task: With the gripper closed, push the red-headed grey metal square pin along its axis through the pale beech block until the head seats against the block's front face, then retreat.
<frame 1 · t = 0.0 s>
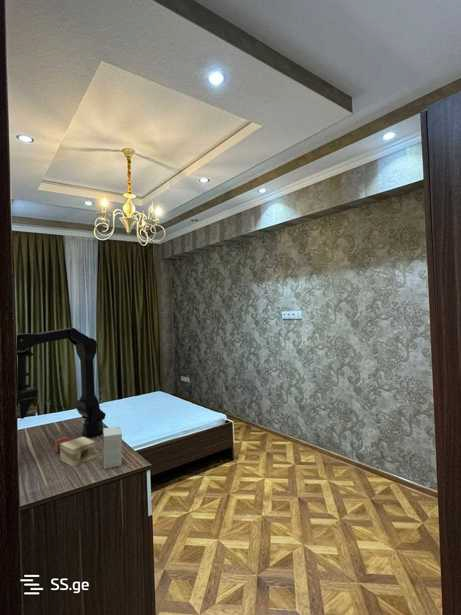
hand: (16, 416, 109), 15 cm above the table, tool pointing down, fingers open, 9 cm apart
pin: (70, 447, 112), point 2 cm above the table, slide at 0.0 cm
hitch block: (78, 458, 109), on the table
small box: (112, 463, 106), on the table
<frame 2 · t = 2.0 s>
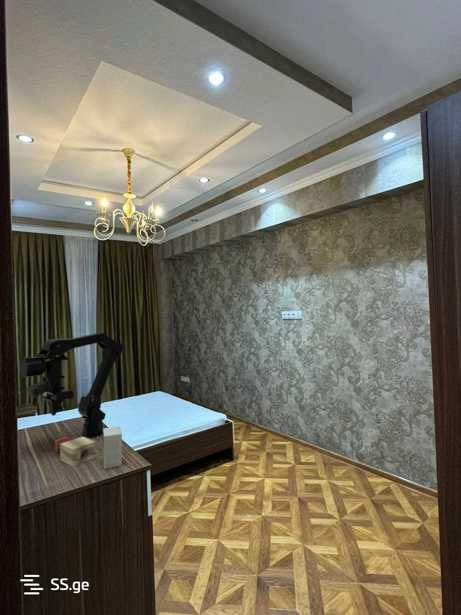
hand: (53, 415, 120), 12 cm above the table, tool pointing down, fingers closed
nothing on the table moved.
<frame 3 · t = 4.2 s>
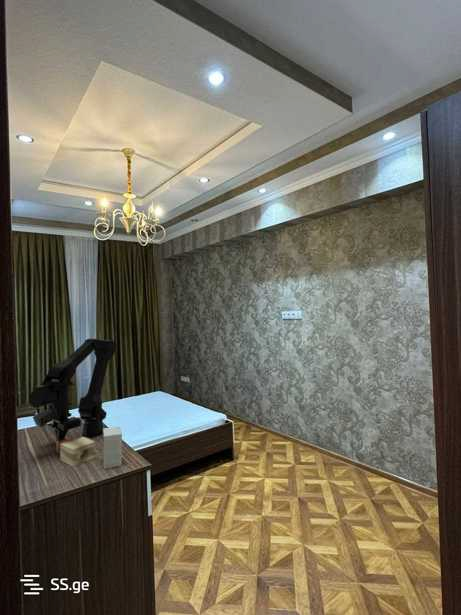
hand: (60, 443, 116), 3 cm above the table, tool pointing down, fingers closed
pin: (71, 448, 112), point 2 cm above the table, slide at 0.8 cm, touching gripper
everything else where it was.
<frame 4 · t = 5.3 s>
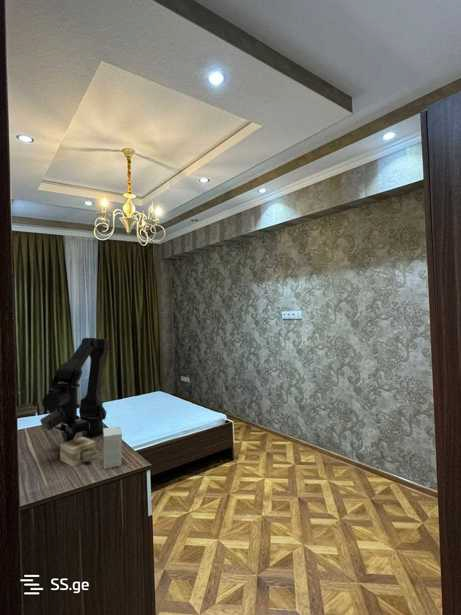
hand: (67, 446, 113), 3 cm above the table, tool pointing down, fingers closed
pin: (79, 452, 109), point 2 cm above the table, slide at 6.0 cm, touching gripper, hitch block
everything else where it was.
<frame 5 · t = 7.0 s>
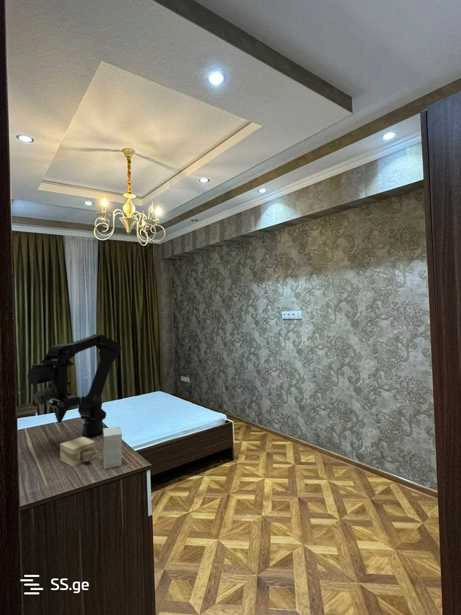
hand: (59, 422, 118), 10 cm above the table, tool pointing down, fingers closed
pin: (79, 452, 109), point 3 cm above the table, slide at 6.0 cm, touching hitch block
everything else where it was.
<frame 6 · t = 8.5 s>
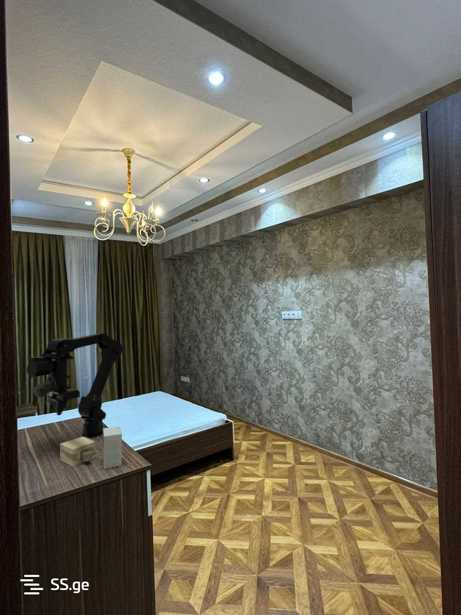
hand: (59, 415, 119), 12 cm above the table, tool pointing down, fingers closed
nothing on the table moved.
at the end: pin slide at 6.0 cm; the gripper is holding nothing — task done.
